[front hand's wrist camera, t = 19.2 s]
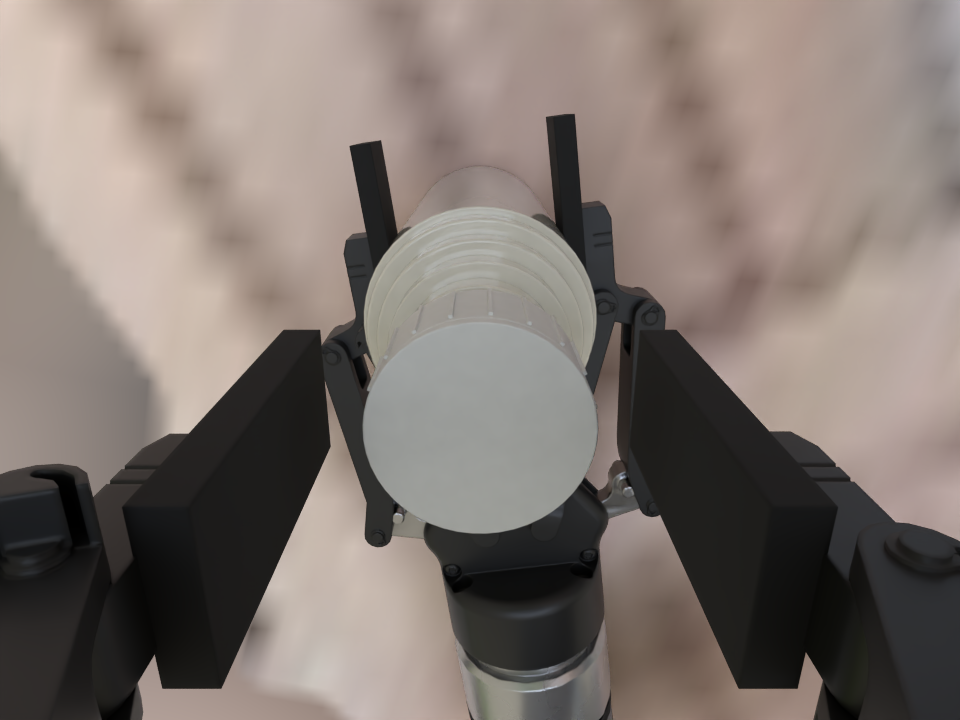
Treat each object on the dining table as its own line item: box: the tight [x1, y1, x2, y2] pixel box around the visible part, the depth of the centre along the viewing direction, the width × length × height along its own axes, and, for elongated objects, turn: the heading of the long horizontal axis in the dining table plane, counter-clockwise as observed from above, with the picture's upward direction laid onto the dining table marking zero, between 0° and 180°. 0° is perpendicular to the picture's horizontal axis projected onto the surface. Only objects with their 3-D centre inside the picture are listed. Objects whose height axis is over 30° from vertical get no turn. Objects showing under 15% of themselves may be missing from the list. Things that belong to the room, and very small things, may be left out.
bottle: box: [364, 166, 597, 368], centre depth 22 cm, size 6×6×21 cm
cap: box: [362, 288, 598, 534], centre depth 13 cm, size 4×4×2 cm
